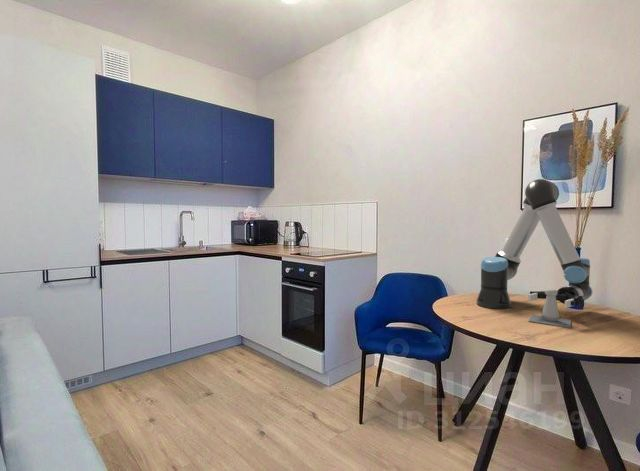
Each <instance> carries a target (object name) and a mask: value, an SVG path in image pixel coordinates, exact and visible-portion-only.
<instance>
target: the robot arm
mask: <svg viewBox="0 0 640 471" xmlns="http://www.w3.org/2000/svg"><path fill="white" fill-rule="evenodd" d="M524 190H525V191H524V194H525V195H524V196H525V198H524V200H523V202H522V205H523V207H524V208H523V209H522V211H521V213H520V215H519V217H518V219H517V221H516V223H515V225H514V227H513V228H512V230H511V232H510V234H509V236H508V238H507V240H506V242H505V244H504V245H503V248H502V249H501V250H498V251H497V252H496V253H495V256H490V257H484V258H483V259H482V260H481V264H480V290H479V293H478V295H477V298H476V305H477V306H479V307H483V308H487V309H495V310H507V309H511V308H512V301H511V299H510V296H509V292H508V281H509V280H511V279H513V278H514V277H515V276H516V275H517V273H518V268H519V266H520V264H521V262H522V261H521V259H520V257H521V255H522V254H523V252H524V250H525V248H526V246H527V244H528V243H529V241H530V238H531V237H532V235H533V233H534V231H535V230H536V228H537V226H538V224H539V222H540V223H541V225H542V228H543V229H544V232H545V234H546V236H547V238H548V240H549V242H550V245H551V246H552V249H553V251H554V254H555V255H556V257H557V260H558V261H559V264H560V266H561V269H562V271H563V277H564V280H566V281H567V282H568V285H567V286H562V287H560V288H559V289H557V295H556V301H557V302H558V301H559V303H562V304H564V308H565V309H568V308H571V307H574V306H576V307H578V306H579V307H582V308H583V307H585V301H586V300H588V299H590V298H591V297H592V295H593V288H592V287H591V286H590V272H591V263H590V262H591V261H590V259H589V258H584V257H581V256H580V255H579V253H578V250H576V247H575V245H574V243H573V241H572V238H571V236H570V235H569V231H568V230H567V227H566V226H565V224H564V221H563V219H562V217H561V215H560V213H559V210H558V209H557V204H558V203H557V200H558V199H559V196H560V190H559V188H558V185H556V184H555V183H554V182H551V181H550V180H547V179H545V178H544V179H543V178H539V179H538V178H537V179H534V180H532V181H531V182H529V183H528V184H527V186H526V187H525V189H524ZM546 296H547V295H546V294H545V290H541V291H540V290H539V291H537V290H536V291H532V290H531V291H529V294H528V296H527V301H528V302H532V301H536V300H539V299H542V300H546Z"/></svg>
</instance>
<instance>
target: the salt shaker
mask: <svg viewBox="0 0 640 471" xmlns="http://www.w3.org/2000/svg"><path fill="white" fill-rule="evenodd" d="M544 291H545V294H546V295H547V296H546V299H544V300H545V301H544V304H543V308H542V313H541V316H543V317H544V319H545V320H546V321H551V322H555V321H557V319H558V318H560V315H559V314H560V313H559V309H558V308H559V307H558V303H557V302H558V300H556V295H557V291H558V289H554V288H545V290H544Z"/></svg>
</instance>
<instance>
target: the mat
mask: <svg viewBox="0 0 640 471" xmlns="http://www.w3.org/2000/svg"><path fill="white" fill-rule="evenodd" d="M528 322H529V323H533V324H540V325H547V326H554V327H561V328H568V329H571V327H572V326H571V325H572V320H571V319H568V318H561V317H558V319H557V321H555V322H551V321H546V320H545V319H544V317H543V315H538V314H531V315H530V317H529V319H528Z"/></svg>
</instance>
